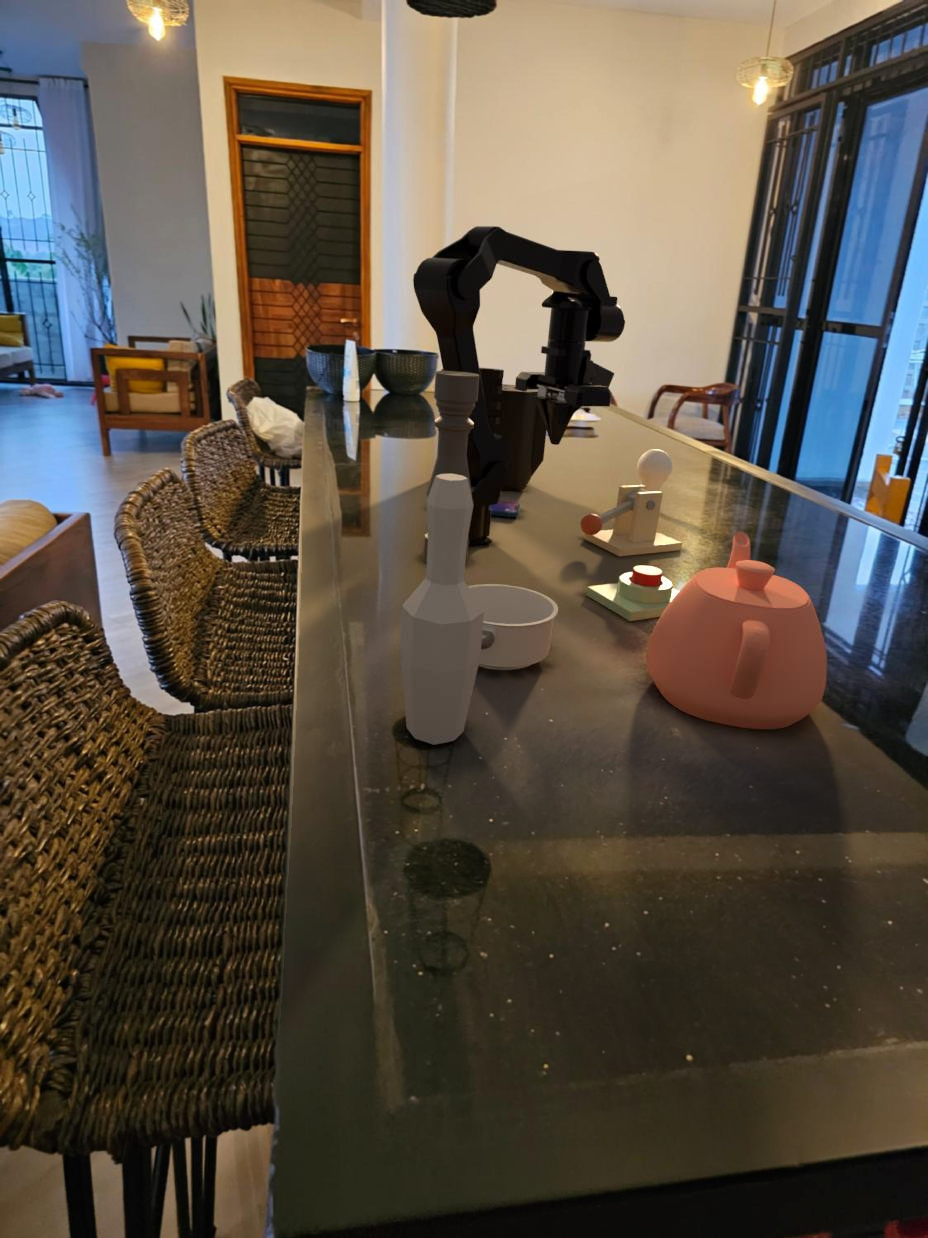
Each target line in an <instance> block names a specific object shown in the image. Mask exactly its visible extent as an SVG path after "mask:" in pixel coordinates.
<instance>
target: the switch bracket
mask: <svg viewBox="0 0 928 1238" xmlns="http://www.w3.org/2000/svg"><path fill="white" fill-rule="evenodd" d="M645 488H646V486H644V485H642V484H629V485H619V487H618V495H617V500H616V506H615V507H617V506H619V505H621V504H623V503H625V502H627V495H629V494H631V493H633V492H635V491H637V490H639V489H644V490H645ZM663 494H664V492H662V491H661V490H660V491H650V492H636V495H635V502H634V508H633V511H631V510H630V511H628V512H626V513H624V514H622V515H620V516H618V517H616V518H614V521H613V527H612V529H604V530H603V529H601V530H600V531H599V532H598V533H597V534H595V535H587V534H585V533H584V537H583V539H584V540H585V541H587V542H589V543H592V544H594V545H596V547H597V546H598V548H599V547H600V548H601V549H603V550H605V551H607V552H610V553H611V554H612V555H615V556H618V557H628V556H637V555H646V554H656V553H667V552H675V551H677V552H678V551H682V546H683V542H681V541H679V540H677V539H675V538H673V537H670V536H667V535H665V534H663V533H660V532H659V531H657V530H658V523H659V517H660V512H661V506H662V500H663Z"/></svg>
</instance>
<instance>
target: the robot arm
mask: <svg viewBox="0 0 928 1238" xmlns="http://www.w3.org/2000/svg"><path fill="white" fill-rule="evenodd" d="M497 265H499V266H503V267H506V268H509V269H513V270H516V271H519V272H522V273H525V274H529V275H532V276H535V277H536V278H538V279H539V281H540V282H541V284H542V285H544V286H545V287H547V288H548V289H550V290H551V291H552V292H551V293H550V295H549V296H548V297H546V298H545V299H543V301H542V302H541V307H542V308H547V309H550V316H549V326H548V337H547V344H546V345H547V346H546V345H542V346H541V349H540V353H541V354H544V355H546V356H545V365H544V371H520V372H519V373H518V375H517V376H516V377H515V384H514V385H515V389H517V390H520V391H527V389H538V395H537V396H533V400H535V401H536V403H537V406H538V408H539V411H540V413H541V416H542V418H543V421H544V424H545V427H546V434H547V436H548V439H549V442H550V444H551V445H554V446H557V445H560V443H561V441H562V439H563V436H565V435H564V434H565V432H566V430H567V429H568V425H569V423H570V421H571V420H572V418H573V416H574V414H575V413H576V412H577V411H578V410H580V409H581V408H583V407H611V403H612V402H611V401H612V396H613V393H612V391H611V389H610V385H611V384H612V381H613V378H614V376H615V372H613V371H611V370H609V369H607V368H606V367H603V366H602V365H600V364H598V363H596V362H594V361H593V360H592V352H591V350H590V349H586V342H591V343H593V342H594V343H595V342H597V343H611V342H614V341H616V340H617V339H619V338H620V337H621V335H623V332H624V329H625V325H626V320H625V315H624V313H623V310H622V308H621V307H620V306H619V305H618V296H613V295H612V296H611V294H610V291H609V288H608V283H607V281H606V277H605V274H604V271H603V267H602V264H601V263H600V256H599V255H598V254H597V253H596V252H594V251H587V250H586V251H585V250H569V249H568V250H567V249H566V250H565V249H556V248H554V247H551V246H547V245H546V244H543V243H539V242H536V241H534V240H531V239H528V238H526V237H523V236H520V235H518V234H515V233H511V232H509V231H506V230H505V229H503V228H502V227H500V226H492V225H491V226H488V225H486V226H485V225H484V226H482V225H479V226H478V225H477V226H476V225H475V226H474V227H473V228H471V229H469V230H468V231H467V232H466V233H465V234H463V236H462V237H461V238H459V239H457V240H456V241H454V242H452V243H451V244H449V245H447V246H445V247H444V248H442V249H440V250H438V251H437V252H436V253H435V254H434V255H433V256H431V257H428V258H425V259H423V260H422V261H421V262H420V263H419V265H418V266H417V269H416V271H415V272H414V274H413V278H412V281H413V282H412V283H413V290H414V294H415V296H416V299H417V302H418V305H419V307H420V311H421V313H422V315H423V316H424V318H425V319H426V321H427V322H428V324H429V325H430V326H431V328H432V330H433V331H434V332H435V334H436V339H437V344H438V350H439V355H440V360H441V361H440V362H441V366H442V369H443V371H459V372H469V373H475V374H479V388H478V401H477V402H475V408H474V409H473V410H472V413H471V415H470V416H469V418H470V419H471V420H472V421H473V423H474V428H473V429H472V430H470V433H468V441H467V455H466V456H467V463H468V469H469V476H470V483H471V489H472V500H473V511H472V516H471V522H470V528H469V533H468V537H469V544H468V546H475V545H487V544H493V540H492V539H491V538H489V536H490V533H491V522H492V515H491V510H490V509H489V505H494V504H497V503H498V501H499V500H500V496H501V494H502V491H503V490H502V488H503V485H504V482H505V479H506V477H507V473H508V466H507V463H510V460H509V458H508V455H507V443H506V440H505V437H504V436H500V435H496V434H493V433H492V432H491V430H490V428H489V425H488V419H487V413H486V407H485V401H484V394H483V388H482V382H481V376H480V369H479V367H480V364H479V357H478V350H477V346H476V345H477V344H476V338H475V332H474V325H475V322H476V319H477V316H478V313H479V311H480V308H481V290H482V289H483V288H484V287H485V285H487V283H489V282H490V281H491V279H493V276H494V273H495V270H496V267H497Z"/></svg>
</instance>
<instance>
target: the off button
mask: <svg viewBox="0 0 928 1238" xmlns="http://www.w3.org/2000/svg"><path fill="white" fill-rule="evenodd" d="M631 572H632V578H631V582H633V583H635V584H637V585H641V586H648V587H657V586H660V583H661V578H662V577H663V571H662V569H660V568H658V567H655V566H652V565H641V564H640V565H635V566H633V567H632V571H631Z"/></svg>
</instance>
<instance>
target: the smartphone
mask: <svg viewBox="0 0 928 1238" xmlns="http://www.w3.org/2000/svg"><path fill="white" fill-rule="evenodd" d="M489 509H490V510H491V516H498V517H508V518H515V517H518V516H519V514H520V509H521V504H520V503H518V502H512V501H510V502H509V501H499V500H498V503H497V504H494V505H489Z"/></svg>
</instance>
